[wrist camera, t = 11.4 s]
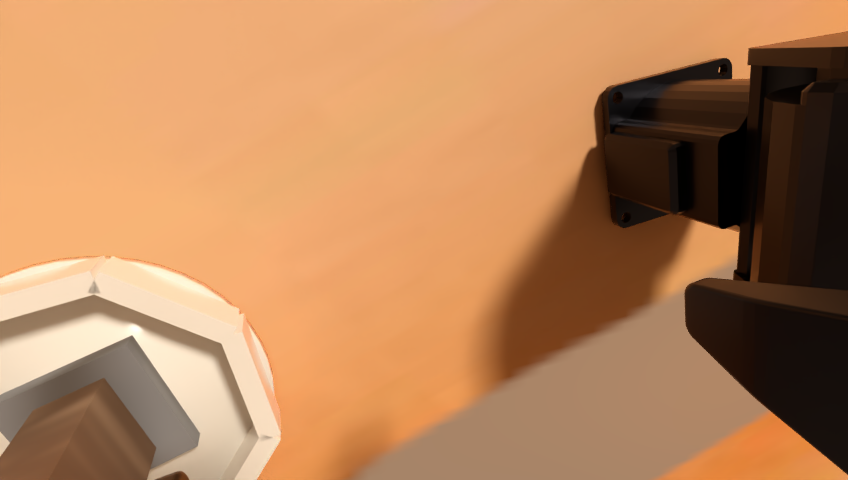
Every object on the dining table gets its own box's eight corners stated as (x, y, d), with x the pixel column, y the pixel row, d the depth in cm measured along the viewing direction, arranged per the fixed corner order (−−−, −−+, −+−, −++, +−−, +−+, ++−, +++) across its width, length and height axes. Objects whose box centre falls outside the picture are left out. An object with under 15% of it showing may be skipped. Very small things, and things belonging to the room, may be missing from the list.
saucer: (216, 215, 19) (210, 231, 17) (309, 468, 23) (313, 505, 21) (-175, 320, 17) (-236, 353, 15) (9, 583, 21) (-18, 636, 19)
